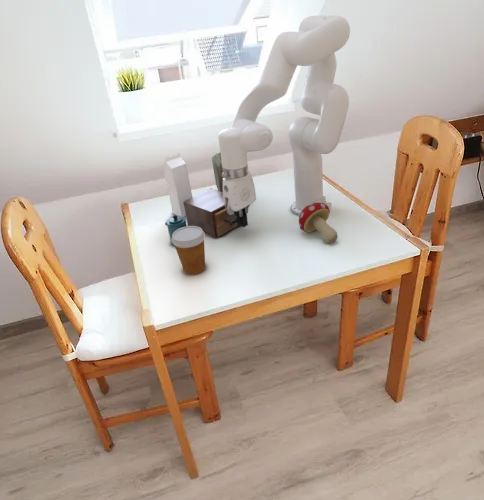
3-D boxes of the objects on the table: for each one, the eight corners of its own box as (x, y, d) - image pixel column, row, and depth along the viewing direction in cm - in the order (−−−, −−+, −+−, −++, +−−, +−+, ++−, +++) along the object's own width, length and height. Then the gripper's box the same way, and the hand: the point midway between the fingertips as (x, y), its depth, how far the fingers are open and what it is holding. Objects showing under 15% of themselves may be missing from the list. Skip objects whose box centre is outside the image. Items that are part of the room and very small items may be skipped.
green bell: (247, 205, 162) (239, 139, 148) (223, 210, 160) (213, 143, 147) (239, 190, 174) (231, 128, 161) (217, 195, 172) (207, 132, 159)
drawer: (252, 225, 147) (249, 204, 143) (227, 239, 140) (224, 218, 136) (218, 212, 157) (214, 192, 153) (193, 225, 150) (189, 205, 146)
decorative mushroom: (344, 221, 127) (314, 189, 135) (314, 246, 128) (286, 213, 136) (353, 235, 136) (325, 205, 144) (325, 258, 137) (298, 227, 145)
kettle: (197, 242, 142) (192, 215, 137) (183, 250, 139) (177, 223, 134) (176, 233, 149) (170, 207, 144) (162, 240, 145) (155, 214, 140)
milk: (195, 212, 162) (184, 154, 150) (181, 218, 158) (170, 159, 147) (185, 207, 166) (174, 151, 154) (172, 213, 162) (160, 156, 151)
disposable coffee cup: (197, 281, 124) (189, 244, 117) (171, 273, 128) (163, 237, 122) (217, 263, 130) (211, 228, 124) (192, 257, 135) (185, 222, 129)
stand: (242, 222, 151) (239, 197, 146) (215, 238, 143) (211, 212, 138) (214, 212, 159) (210, 188, 154) (188, 226, 152) (183, 201, 147)
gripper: (226, 182, 124) (234, 238, 134) (261, 165, 133) (267, 218, 143) (208, 177, 129) (217, 231, 139) (244, 160, 138) (250, 213, 147)
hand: (242, 224), depth 141 cm, fingers closed
